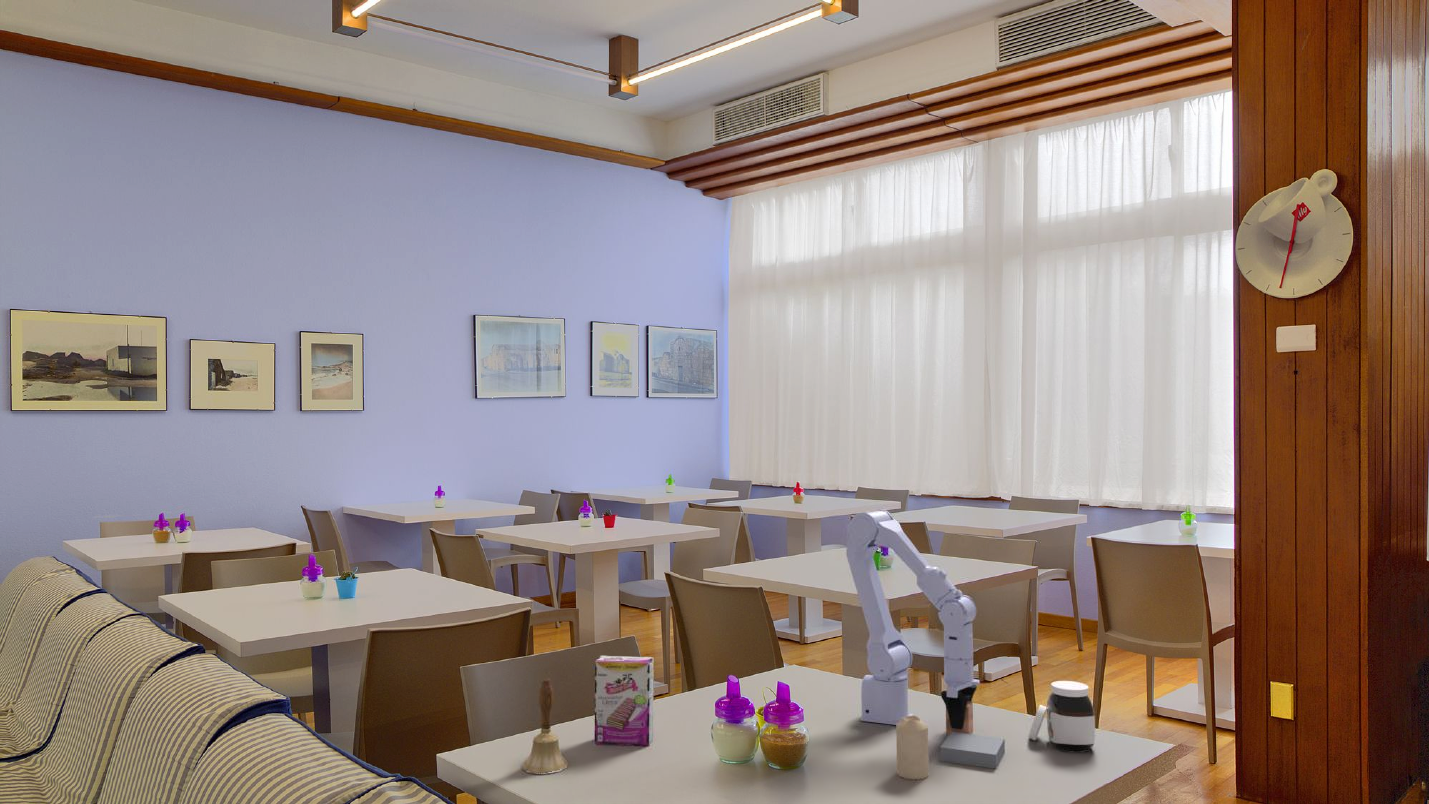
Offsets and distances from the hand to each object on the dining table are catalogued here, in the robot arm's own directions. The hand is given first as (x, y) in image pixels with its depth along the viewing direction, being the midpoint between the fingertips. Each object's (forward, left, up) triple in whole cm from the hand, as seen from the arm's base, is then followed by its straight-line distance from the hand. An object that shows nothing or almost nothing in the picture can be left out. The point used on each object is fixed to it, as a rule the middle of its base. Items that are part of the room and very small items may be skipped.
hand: (959, 724), depth 191 cm
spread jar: (+19, +1, -2) cm, 19 cm away
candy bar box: (-59, -33, -2) cm, 68 cm away
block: (0, 0, -2) cm, 2 cm away
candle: (-3, -27, -2) cm, 27 cm away
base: (+5, -13, -2) cm, 14 cm away
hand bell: (-65, -51, -2) cm, 83 cm away
